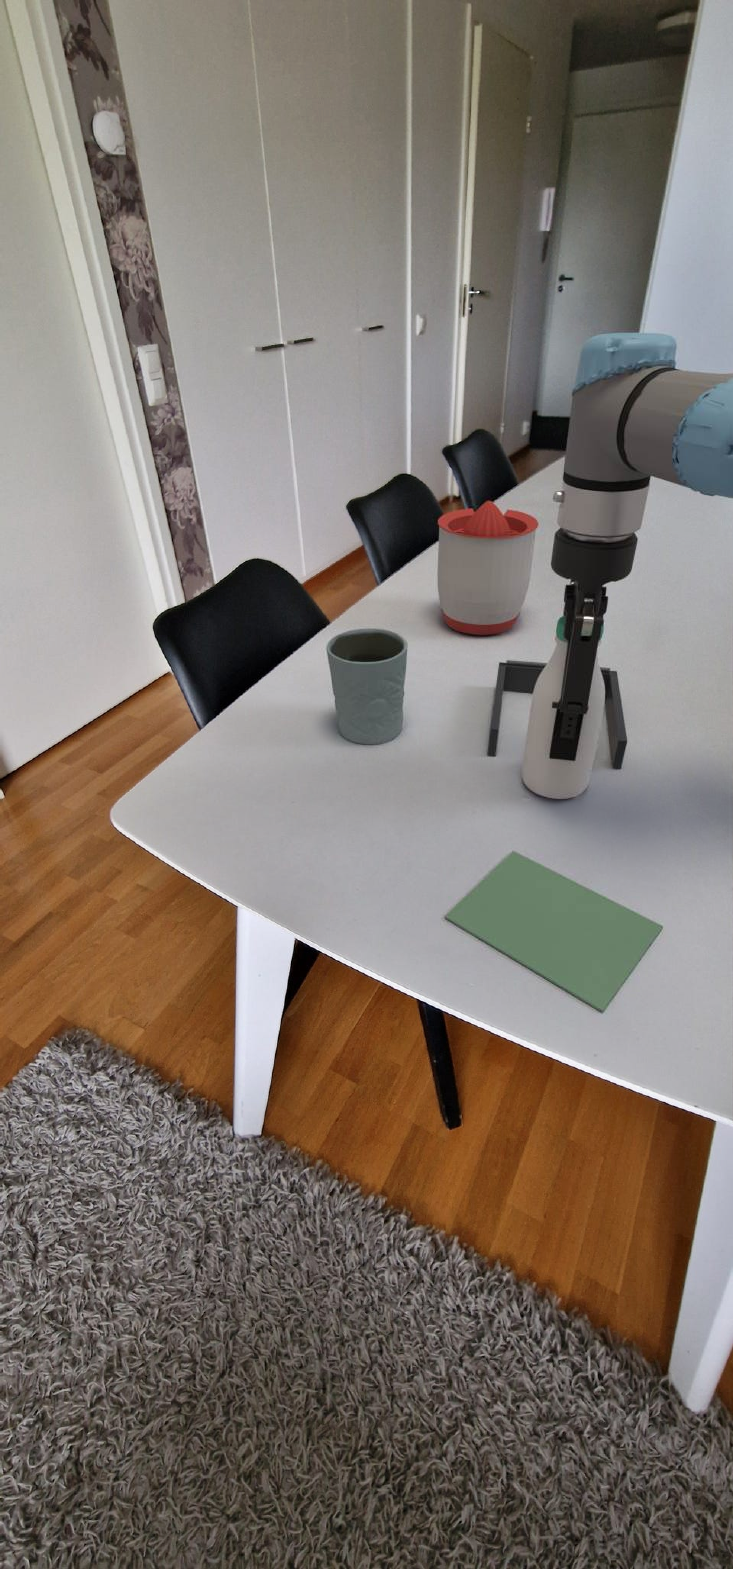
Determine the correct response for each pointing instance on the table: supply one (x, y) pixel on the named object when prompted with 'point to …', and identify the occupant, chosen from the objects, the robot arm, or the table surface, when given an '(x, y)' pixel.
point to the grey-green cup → (368, 683)
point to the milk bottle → (537, 767)
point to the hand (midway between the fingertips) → (561, 736)
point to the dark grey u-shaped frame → (524, 680)
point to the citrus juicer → (484, 567)
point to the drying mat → (556, 928)
